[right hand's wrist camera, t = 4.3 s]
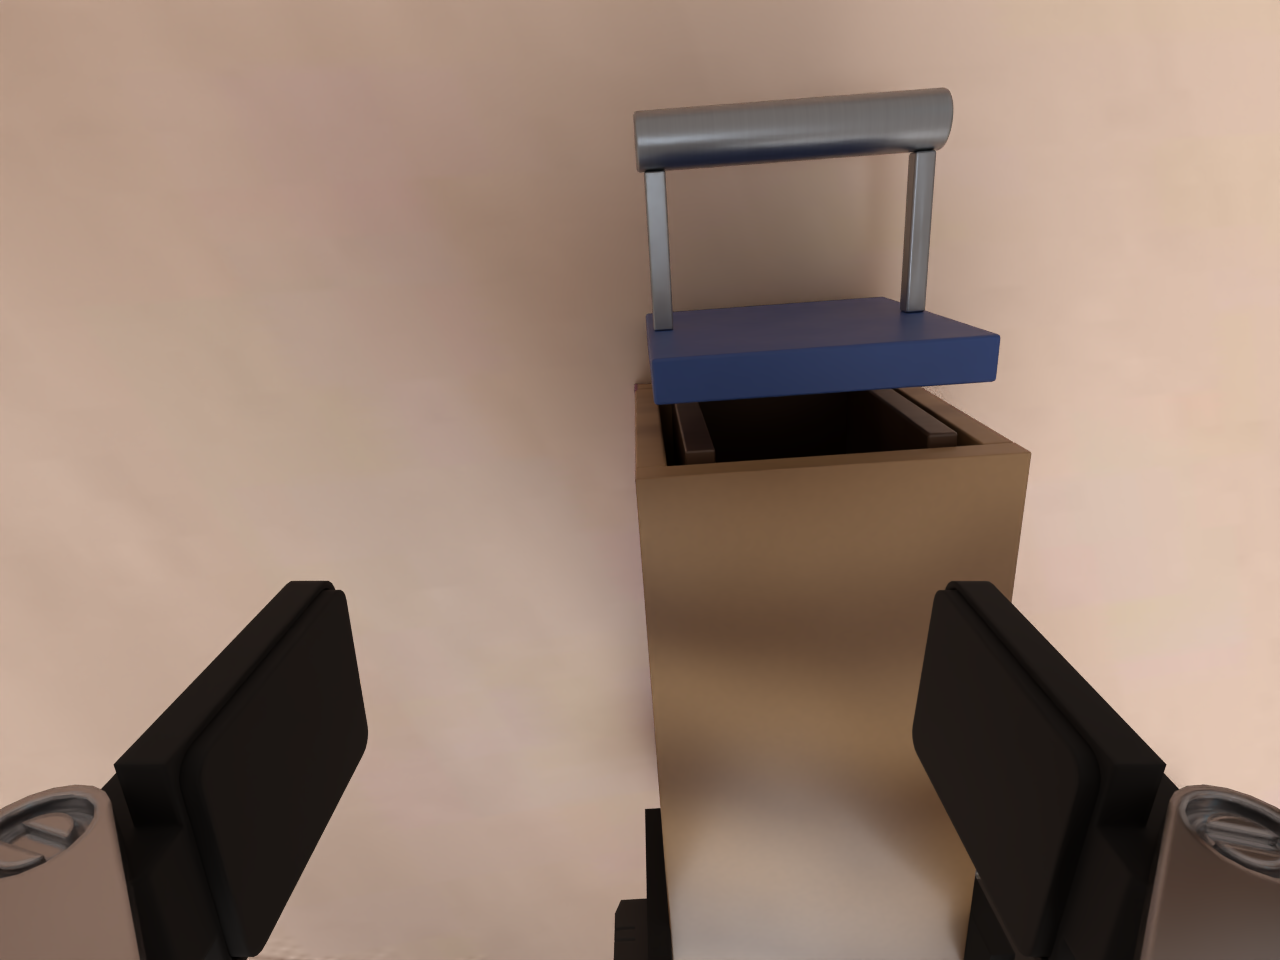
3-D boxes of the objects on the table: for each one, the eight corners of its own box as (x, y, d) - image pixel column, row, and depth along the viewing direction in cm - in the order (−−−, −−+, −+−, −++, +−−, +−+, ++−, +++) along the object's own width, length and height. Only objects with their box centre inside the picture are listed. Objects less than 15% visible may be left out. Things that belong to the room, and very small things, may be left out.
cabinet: (634, 384, 28) (634, 478, 18) (888, 366, 27) (1032, 451, 17) (664, 794, 35) (677, 1025, 25) (865, 782, 35) (958, 1009, 25)
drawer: (633, 128, 24) (633, 81, 15) (894, 108, 23) (1034, 51, 15) (673, 743, 33) (687, 920, 24) (862, 731, 32) (939, 905, 24)
